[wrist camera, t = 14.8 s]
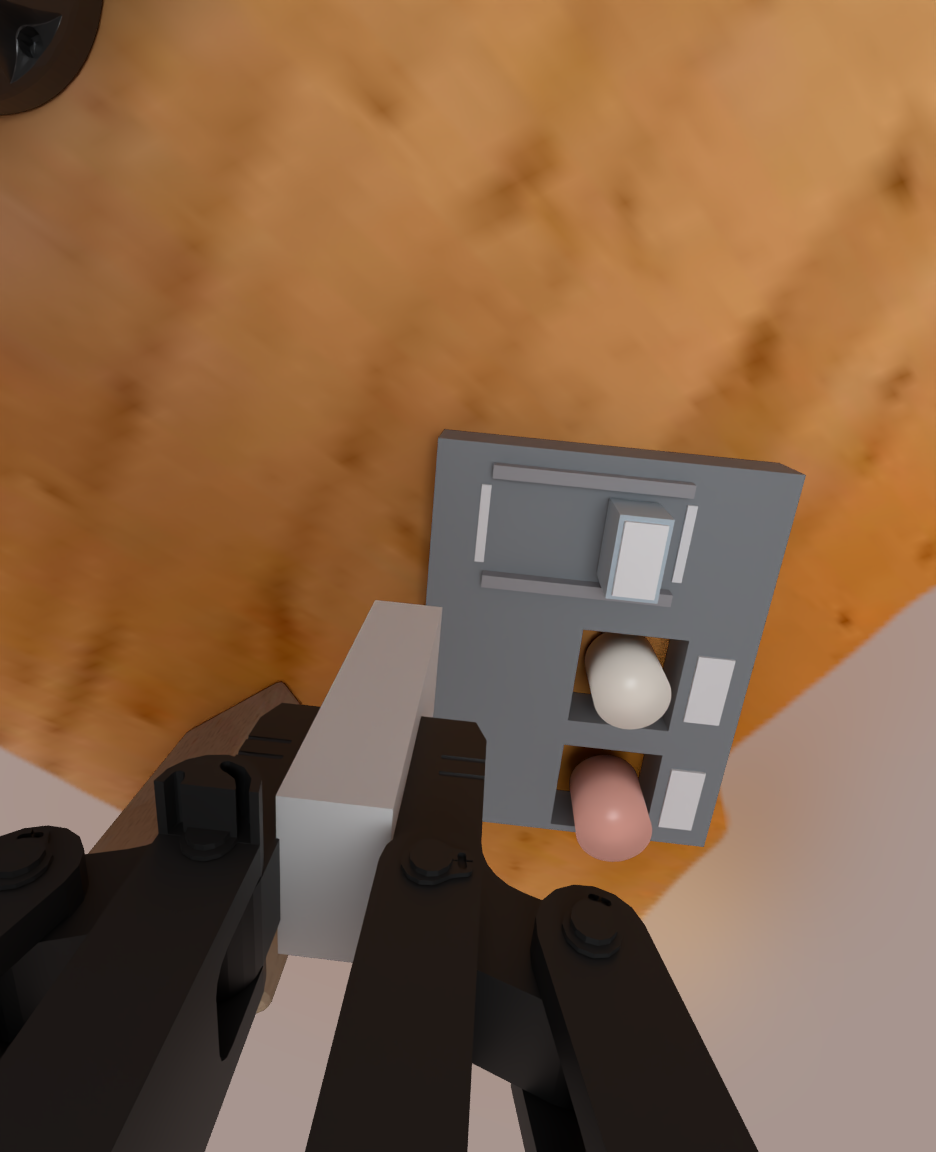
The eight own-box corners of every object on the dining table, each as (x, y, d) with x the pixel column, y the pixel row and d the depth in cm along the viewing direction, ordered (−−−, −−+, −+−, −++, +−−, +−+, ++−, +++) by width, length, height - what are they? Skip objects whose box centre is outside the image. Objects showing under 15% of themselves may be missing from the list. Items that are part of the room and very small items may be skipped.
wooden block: (185, 731, 52) (4, 951, 34) (282, 677, 50) (148, 880, 31) (260, 820, 55) (131, 1069, 36) (356, 772, 53) (272, 1011, 34)
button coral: (564, 807, 49) (570, 856, 44) (574, 751, 47) (582, 796, 42) (631, 814, 49) (644, 865, 44) (643, 759, 47) (658, 805, 42)
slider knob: (596, 574, 41) (606, 600, 37) (609, 497, 39) (621, 515, 35) (643, 579, 41) (658, 605, 37) (658, 502, 39) (676, 521, 35)
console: (417, 779, 53) (408, 822, 48) (444, 429, 43) (436, 440, 38) (689, 810, 52) (707, 856, 47) (779, 463, 42) (813, 478, 38)
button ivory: (579, 687, 48) (587, 724, 43) (590, 625, 46) (599, 657, 41) (647, 694, 48) (662, 733, 43) (661, 633, 46) (678, 666, 41)
